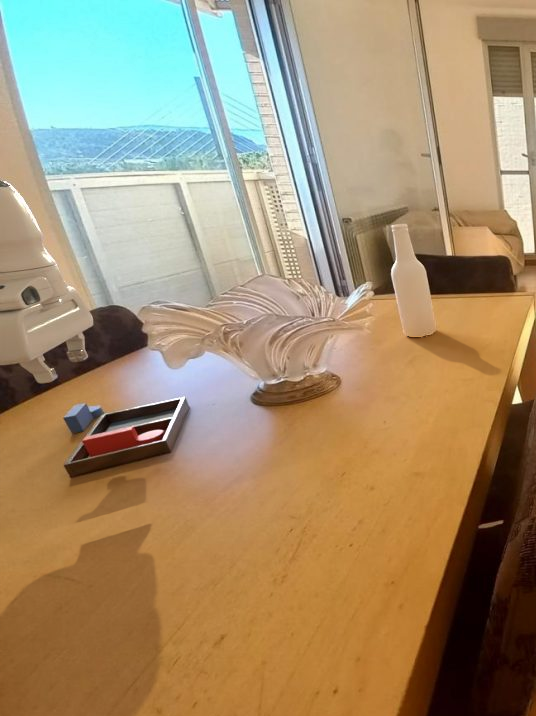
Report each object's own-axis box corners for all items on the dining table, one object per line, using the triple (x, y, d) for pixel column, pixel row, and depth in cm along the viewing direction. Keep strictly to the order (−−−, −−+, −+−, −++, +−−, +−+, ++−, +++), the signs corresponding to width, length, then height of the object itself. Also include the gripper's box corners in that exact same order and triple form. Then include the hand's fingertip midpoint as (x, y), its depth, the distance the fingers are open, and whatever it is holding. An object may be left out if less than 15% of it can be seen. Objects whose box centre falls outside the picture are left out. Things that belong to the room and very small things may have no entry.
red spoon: (89, 461, 78) (79, 443, 76) (96, 451, 81) (86, 434, 79) (164, 443, 82) (156, 426, 81) (168, 434, 85) (160, 417, 84)
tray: (70, 477, 75) (63, 465, 74) (107, 425, 90) (101, 414, 89) (171, 452, 81) (165, 440, 80) (189, 407, 96) (185, 396, 95)
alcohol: (430, 326, 140) (411, 221, 129) (441, 333, 134) (421, 224, 123) (400, 333, 135) (376, 225, 124) (409, 340, 129) (386, 227, 117)
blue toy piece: (91, 429, 89) (82, 413, 87) (64, 435, 87) (55, 419, 86) (106, 409, 96) (98, 394, 95) (81, 415, 94) (73, 399, 93)
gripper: (34, 276, 79) (72, 352, 85) (-58, 306, 62) (-3, 399, 68) (85, 272, 82) (119, 346, 87) (9, 300, 65) (57, 390, 70)
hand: (65, 370), depth 77 cm, fingers open, 8 cm apart
